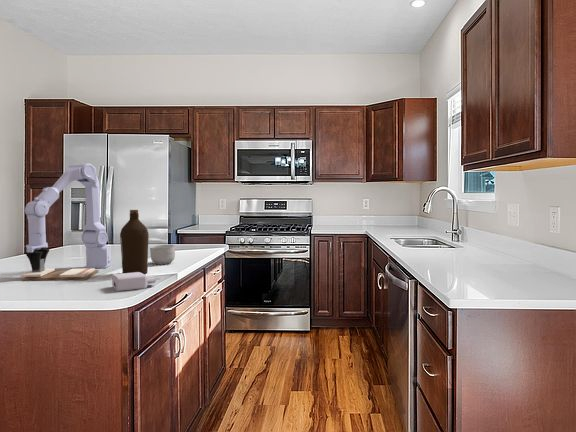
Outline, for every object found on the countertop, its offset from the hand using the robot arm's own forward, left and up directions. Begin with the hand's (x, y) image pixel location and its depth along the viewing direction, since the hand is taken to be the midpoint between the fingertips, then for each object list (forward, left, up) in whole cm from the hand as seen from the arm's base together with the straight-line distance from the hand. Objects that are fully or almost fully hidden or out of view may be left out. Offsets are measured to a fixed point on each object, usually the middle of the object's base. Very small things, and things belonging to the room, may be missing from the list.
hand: (38, 269), depth 186 cm
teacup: (-42, -31, -3) cm, 52 cm away
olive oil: (-35, -4, -3) cm, 35 cm away
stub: (0, 0, -2) cm, 2 cm away
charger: (-41, +23, -3) cm, 47 cm away
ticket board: (-9, 0, -3) cm, 9 cm away
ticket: (-14, 0, -2) cm, 14 cm away
